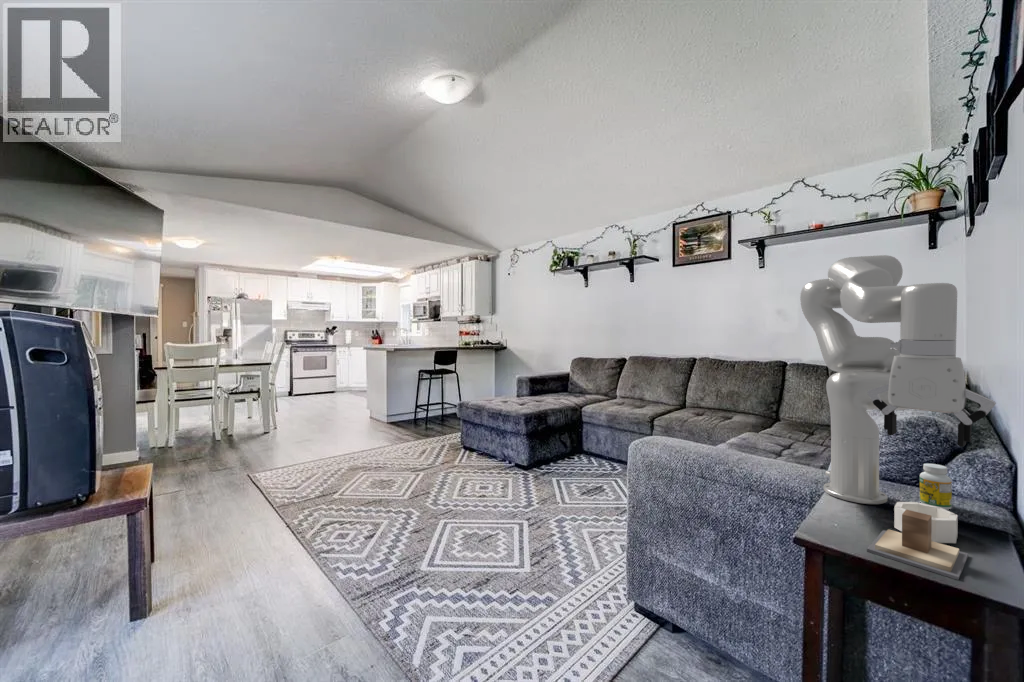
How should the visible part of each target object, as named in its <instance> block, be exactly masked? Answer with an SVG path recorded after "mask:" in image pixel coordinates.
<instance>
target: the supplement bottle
mask: <svg viewBox="0 0 1024 682" xmlns="http://www.w3.org/2000/svg"><path fill="white" fill-rule="evenodd" d="M922 469H923V471H922V472H920V473H919V503H920V502H921V503H922V504H927V505H931V506H936V507H940V508H943V509H945V510H947V511H950V510H951V509H952V506H953V501H952V499H953V497H952V496H953V493H952V491H953V489H952V485H953V484H952V482H953V481H952V478H951V477H950V476H949V475H948V467H947V466H945V465H942V464H938V463H937V464H936V463H929V462H928V463H923V466H922ZM949 509H950V510H949Z"/></svg>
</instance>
